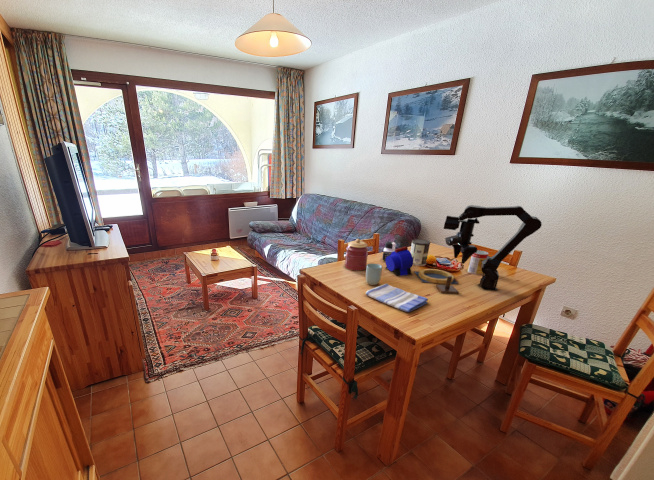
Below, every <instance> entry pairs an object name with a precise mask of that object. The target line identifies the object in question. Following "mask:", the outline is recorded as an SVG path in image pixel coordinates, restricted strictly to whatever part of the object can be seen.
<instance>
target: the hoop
mask: <svg viewBox="0 0 654 480" xmlns="http://www.w3.org/2000/svg"><path fill="white" fill-rule="evenodd" d="M418 272H419V277H420V278H421V279H423V280H426V281H428V282H433V283H432V284H438V285H446V281H447V278H446V279H437V278H432V277H429V276H426V275H425V274H427V273H435V274H440V275H443V276H446V277H448V276H452V280H451V283H452V281H453V280H455V276H454V275H453V274H452V273H451V272H449V271H446V270H442V269H438V268H436V269H435V268H423V269H421V270H420V271H418ZM419 277H418V278H419Z"/></svg>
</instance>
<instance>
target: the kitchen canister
mask: <svg viewBox="0 0 654 480" xmlns="http://www.w3.org/2000/svg"><path fill="white" fill-rule="evenodd" d="M345 249H346V252H345V260H344V267H345V268H346V269H348V270H351V271H364V270H366V267H367V264H368V258H369V257H368V256H369V253H368V251H369V247H368V243H366V241H363V240H361V239H360V238H356V240H352V241H350V242H348V243H347V246H346V247H345Z"/></svg>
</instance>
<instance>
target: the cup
mask: <svg viewBox="0 0 654 480" xmlns="http://www.w3.org/2000/svg"><path fill="white" fill-rule="evenodd" d="M382 271H383V266H382V265H381V264H380V263H367V267H366V269H365V282H366V284H368V285H369V286H378V285H379V283H380V281H381V279H382Z"/></svg>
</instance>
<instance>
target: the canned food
mask: <svg viewBox="0 0 654 480" xmlns="http://www.w3.org/2000/svg"><path fill="white" fill-rule="evenodd" d="M487 256H489V252H488V251H485V250H481V249H479V250H478V249H477V253H475V254H473V255H472V256H471V257H470V258H469V262H468V266H467V273H469V274H472V275H479V276H480V275H484V273H483V272H482V268H481V265H482V261H484V260H485V259H486V258H487Z"/></svg>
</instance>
